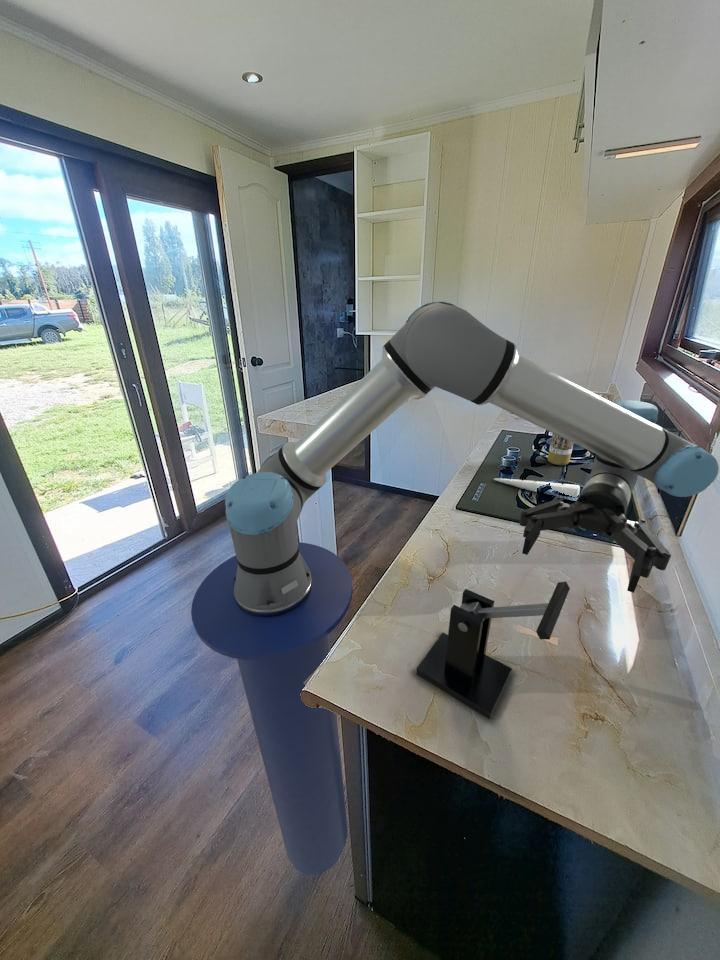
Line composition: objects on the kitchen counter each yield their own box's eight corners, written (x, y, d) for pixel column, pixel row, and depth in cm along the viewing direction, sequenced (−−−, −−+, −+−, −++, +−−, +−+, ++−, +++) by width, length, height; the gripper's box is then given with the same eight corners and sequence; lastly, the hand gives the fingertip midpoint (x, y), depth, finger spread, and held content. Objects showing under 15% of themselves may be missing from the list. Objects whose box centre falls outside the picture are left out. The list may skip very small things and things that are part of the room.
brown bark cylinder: (557, 456, 135) (573, 385, 123) (573, 464, 129) (591, 390, 118) (542, 460, 133) (556, 388, 121) (557, 467, 127) (574, 392, 116)
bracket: (510, 673, 61) (526, 604, 54) (489, 719, 54) (504, 647, 48) (442, 637, 67) (448, 571, 61) (416, 674, 61) (419, 605, 54)
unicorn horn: (497, 476, 123) (500, 462, 120) (579, 498, 109) (583, 483, 106) (491, 481, 119) (493, 467, 117) (574, 505, 105) (578, 490, 103)
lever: (572, 592, 50) (564, 576, 49) (552, 644, 43) (542, 626, 42) (480, 601, 60) (473, 588, 59) (452, 644, 53) (444, 629, 52)
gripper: (683, 543, 63) (678, 625, 48) (527, 500, 77) (486, 553, 62) (699, 504, 60) (699, 579, 45) (533, 466, 74) (492, 514, 59)
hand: (575, 564), depth 54 cm, fingers open, 13 cm apart
